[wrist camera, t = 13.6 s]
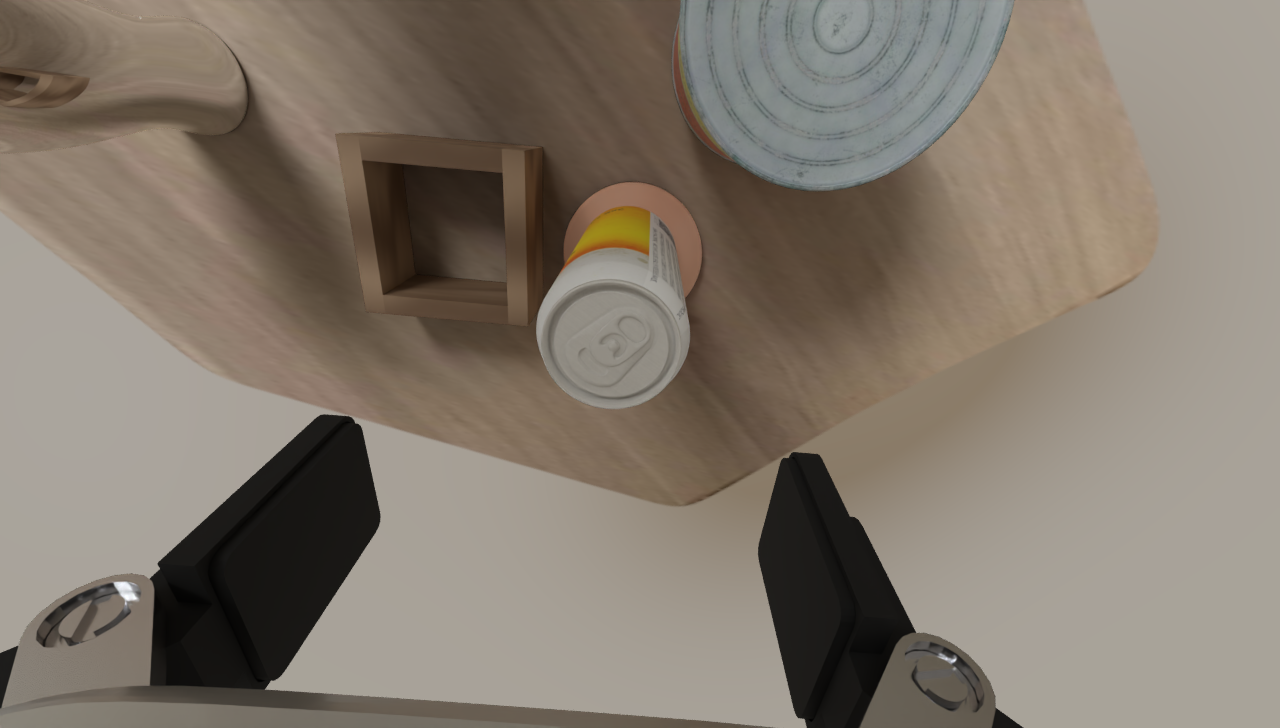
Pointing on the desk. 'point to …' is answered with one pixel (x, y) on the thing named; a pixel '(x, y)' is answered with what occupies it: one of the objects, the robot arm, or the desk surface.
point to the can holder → (387, 235)
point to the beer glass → (109, 76)
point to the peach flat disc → (654, 202)
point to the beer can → (616, 313)
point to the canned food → (830, 81)
